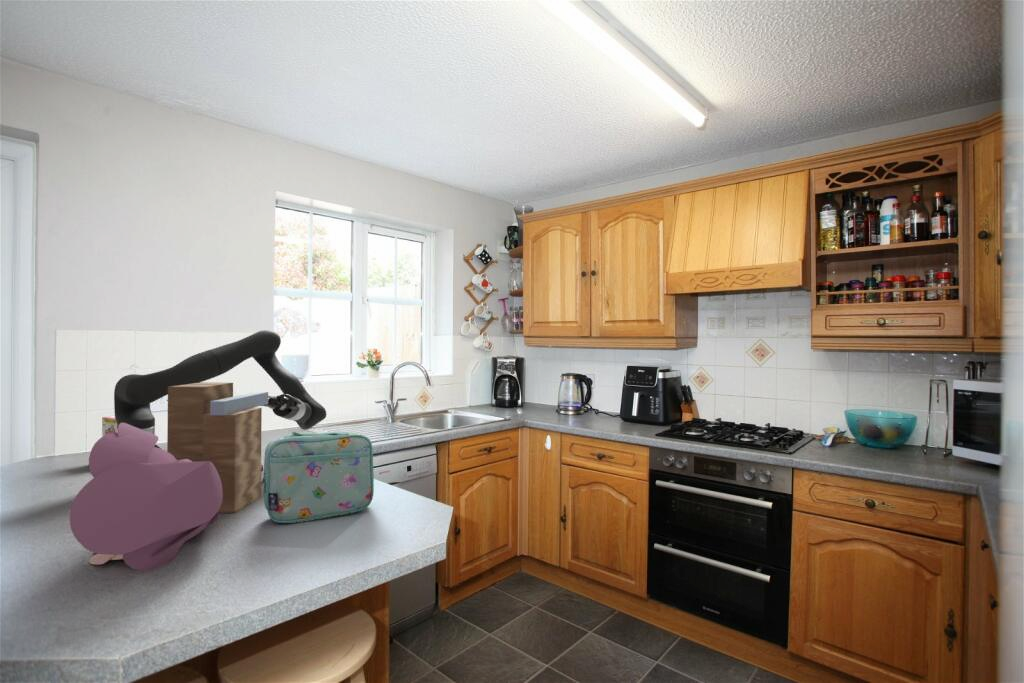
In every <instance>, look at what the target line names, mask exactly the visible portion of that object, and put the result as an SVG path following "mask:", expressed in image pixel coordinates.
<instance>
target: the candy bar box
mask: <svg viewBox="0 0 1024 683" xmlns="http://www.w3.org/2000/svg"><path fill="white" fill-rule="evenodd" d="M101 418H102V419H101V420H102V423H101V424H102V432H101V435H102V437H103V436H105V435H107V434H111V433H117V421H116V419H115V415H110V416H103V417H101Z"/></svg>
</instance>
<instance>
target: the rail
mask: <svg viewBox="0 0 1024 683" xmlns="http://www.w3.org/2000/svg"><path fill="white" fill-rule="evenodd" d="M268 396H269V391H254V392H250V393H249V392H248V393H244V394H239V395H235V396H234V395H233V397H229V398H225V399H220V400H215V401H210V415H228V414H231V413H235V412H239V411H243V410H246V409H250V408H259V407H262V406H261V405H265V404H268V399H269V398H268Z"/></svg>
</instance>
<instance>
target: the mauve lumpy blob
mask: <svg viewBox="0 0 1024 683" xmlns="http://www.w3.org/2000/svg"><path fill="white" fill-rule="evenodd" d="M158 441H159V436H158V435H156V434H155V435H154V434H151V433H149V432H146V431H144V430H141V429H139V428H136V427H134V426H131V425H129V424H126V423H120V424H119V426H118V433H111V434H107V435H105V436H103V437H100V438H99V439H98V440H96V441H95V443H94V444H93V445H92V448H91V450H90V453H89V456H88V468H89V469H88V470H89V473H90V474H91V476H92V478H91V479H90V480H89V481H88V482H87V483H86V484H85V485H84V486H83V487H82V488H81V489H80V490H79V491H78V493H77V494H76V496H75V498H74V500H73V502H72V505H71V506H70V512H69V524H70V530H71V532H72V535H73V536H74V538H75V539H76V541H77V542H78V543H79V544H80V545H81V546H82V547H83V548H85V549H86V550H88V551H89V552H91V553H92V554H94V555H92V556H91V558H90V559H89V564H91V565H104V564H106V563H107V562H108V561H110V560H112V561H116V560H123V561H124V563H125V564H126V565H127V566H128V567H131V568H132V569H133V570H136V571H142V572H147V571H148V572H150V571H154V570H156V569H158V568H160V567H163V566H165V565H167V564H169V563H171V562H172V561H173V560H174V559H175V557H176V556H177V554H178V552H179V551H180V549H181V548H182V546H183V545H184V543H185V542H187V541H189V540H190V539H192V538H194V537H195V536H196V535H198V534H200V533H201V532H203V530H204V529H205V528H206V527H208V526H210V525H211V524H213V523H214V522H216V521H218V520H219V519H220V518H219V517H220V513H219V512H220V506H221V504H222V499H223V490H222V483H221V480H220V477H219V474H218V472H217V470H216V468H215V466H214V465H213V463H212V462H210V461H202V462H192V461H191V460H189V459H183V460H176V458H175V457H174V456H173V455H172V454H170V453H169V452H167V450H166V449H163V448H161V447H160V446H159V445H158V444H157V443H158Z"/></svg>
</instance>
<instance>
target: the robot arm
mask: <svg viewBox="0 0 1024 683" xmlns="http://www.w3.org/2000/svg"><path fill="white" fill-rule="evenodd" d="M281 343H282V341H281V337H280V335H279V334H278V333H277V332H275V331H274V330H270V329H263V330H259V331H257V332H255V333H252V334H251V335H248V336H246V337H243V338H241V339H239V340H236V341H233V342H231V343H230V342H229V343H227V344H224V345H220V346H217V347H214V348H212V349H211V348H210V349H208V350H205V351H202V352H198V353H196V354H193V355H190V356H189V357H187V358H185V359H184V360H181V361H180V362H179V363H177V364H175V365H174V366H173V365H172V366H171V367H169V368H166V369H163V370H159V371H156V372H152V373H147V374H138V373H137V374H135V373H134V374H133V373H132V374H128V375H124V376H122V377H121V378H120V379H119V380H118V381H117V382H116V384H115V386H114V390H113V391H114V392H113V400H114V401H113V403H114V404H113V405H114V410H113V411H114V416H115V419H116V421H117V433H118V426H119V424H120V423H126V424H129V425H131V426H134V427H136V428H139V429H141V430H144V431H146V432H149V433H151V434H154V435H156V419H155V416H154V414H153V413H152V410H151V403H154V402H156V401H157V400H159V399H162V398H163V397H166V396H168V387H171V386H178V385H186V384H193V383H201V382H206V381H209V380H211V379H213V378H216V377H218V376H221V375H223V374H225V373H227V372H229V371H231V370H232V369H234V368H236V367H237V366H238V365H240V364H242V363H243V362H245V361H246V360H249V359H251V358H253V359H254V360H255V362H256V363H257V364H258V365H259V366H260V367H261V368H262V369H263V371H265V373H267V375H268V376H270V378H271V379H272V380H273V381H274V383H275V384H276V385H277V387H278V388H279V389H280V391H281V392H282V394H279V395H276V396H271V395H268V404H265V405H261V406H260V407H266V408H269V409H270V410H272V412H273V414H274V415H276V416H278V417H280V418H282V419H286V420H290V421H293V422H295V423H296V425H297V426H299V428H300V429H301V430H306V431H307V430H310V429H311V428H313V427H314V426H316V425H318V424H319V423H320V422H322V421H323V420H325V419H326V417H327V410H326V408H325V407H324V406H323V405H322V404H321V403H319V402H318V401H317V400H315V398H313V397H312V396H311V395H310V394H309V392H308V391H307V390H306V388H305V387H304V385H303V383H301V381H300V380H299V378H298V377H297V376H296V375H295V374H293V373H291V372H290V371H289V370H287V369H286V368H285V367H284V366H283V365H282V364H281V362H280V361H279V360H278V357H277V355H276V352H277V351H278V350H279V348H280V347H281Z"/></svg>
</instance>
